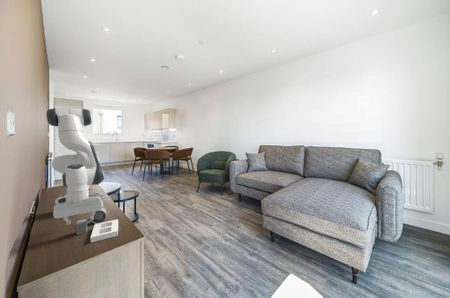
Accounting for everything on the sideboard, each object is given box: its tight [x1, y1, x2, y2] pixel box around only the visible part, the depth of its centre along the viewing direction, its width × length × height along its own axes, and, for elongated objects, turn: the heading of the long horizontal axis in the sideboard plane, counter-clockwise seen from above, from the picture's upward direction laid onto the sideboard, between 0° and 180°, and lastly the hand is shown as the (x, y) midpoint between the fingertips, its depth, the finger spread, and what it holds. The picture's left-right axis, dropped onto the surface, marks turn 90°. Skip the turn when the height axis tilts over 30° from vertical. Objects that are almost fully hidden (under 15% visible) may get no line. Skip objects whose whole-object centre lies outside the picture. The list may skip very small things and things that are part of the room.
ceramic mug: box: [86, 207, 108, 225], centre depth 110 cm, size 11×8×8 cm
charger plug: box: [75, 219, 88, 236], centre depth 98 cm, size 4×4×6 cm
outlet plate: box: [90, 219, 119, 243], centre depth 97 cm, size 16×11×2 cm
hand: (80, 222), depth 97 cm, fingers open, 8 cm apart
